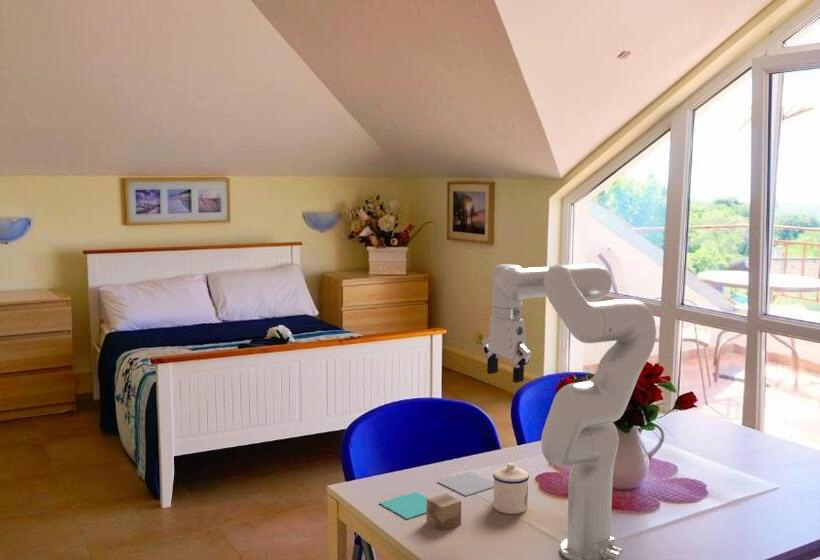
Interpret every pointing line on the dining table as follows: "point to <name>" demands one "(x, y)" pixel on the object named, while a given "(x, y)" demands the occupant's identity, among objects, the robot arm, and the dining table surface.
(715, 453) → the dining table surface
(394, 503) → the teal mat
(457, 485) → the grey mat
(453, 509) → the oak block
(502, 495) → the teacup with lid
